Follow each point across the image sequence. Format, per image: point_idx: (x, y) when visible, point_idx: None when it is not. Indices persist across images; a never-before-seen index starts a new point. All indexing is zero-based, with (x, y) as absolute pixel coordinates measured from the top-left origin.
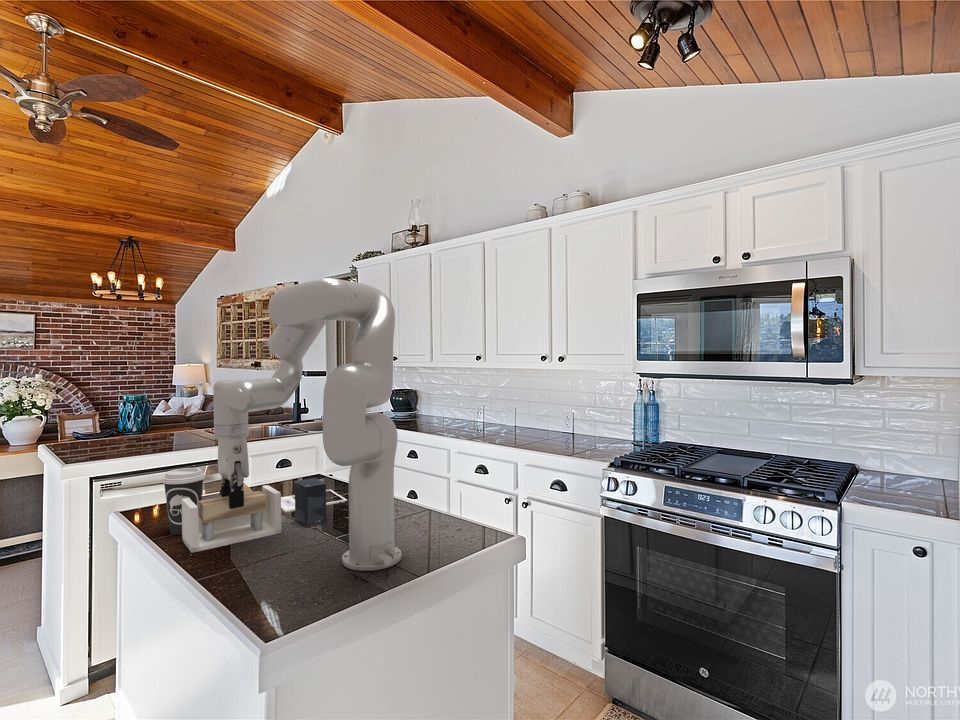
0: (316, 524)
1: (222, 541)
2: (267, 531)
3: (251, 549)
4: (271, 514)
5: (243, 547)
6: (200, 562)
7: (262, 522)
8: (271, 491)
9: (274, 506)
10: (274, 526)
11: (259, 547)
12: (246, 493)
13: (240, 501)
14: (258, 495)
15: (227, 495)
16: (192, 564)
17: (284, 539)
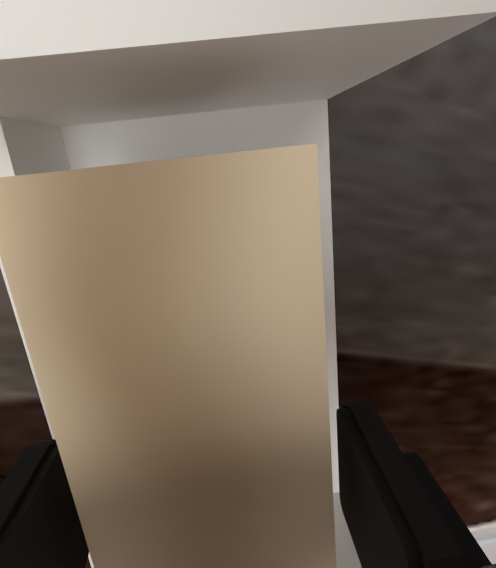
0: None
1: (334, 401)
2: (321, 154)
3: (478, 277)
4: (258, 93)
5: (420, 307)
6: (475, 474)
7: (88, 140)
8: (289, 20)
9: (381, 64)
10: (317, 98)
11: (479, 237)
12: (67, 375)
13: (423, 470)
14: (285, 251)
15: (61, 563)
16: (474, 497)
17: (454, 74)
